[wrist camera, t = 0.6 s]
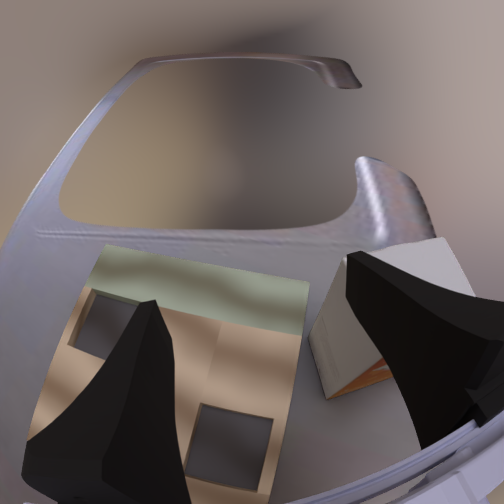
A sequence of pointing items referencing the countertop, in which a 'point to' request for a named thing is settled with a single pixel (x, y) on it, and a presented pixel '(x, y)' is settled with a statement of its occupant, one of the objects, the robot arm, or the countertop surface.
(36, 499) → the countertop surface
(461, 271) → the small box
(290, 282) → the board
